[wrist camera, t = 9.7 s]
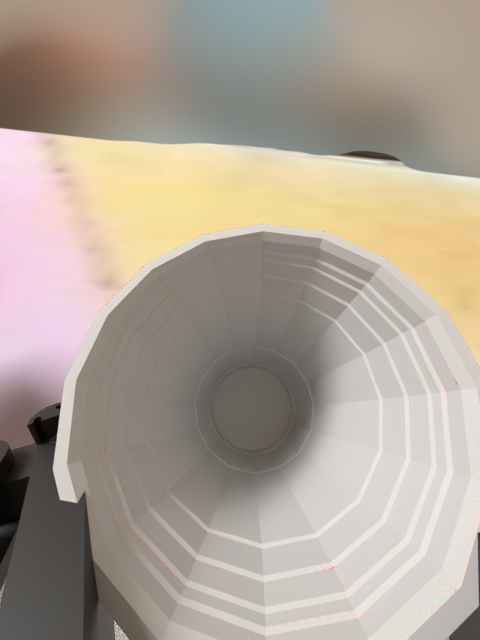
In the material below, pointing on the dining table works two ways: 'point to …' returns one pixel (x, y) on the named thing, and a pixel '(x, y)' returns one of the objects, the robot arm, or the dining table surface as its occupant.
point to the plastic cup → (276, 446)
